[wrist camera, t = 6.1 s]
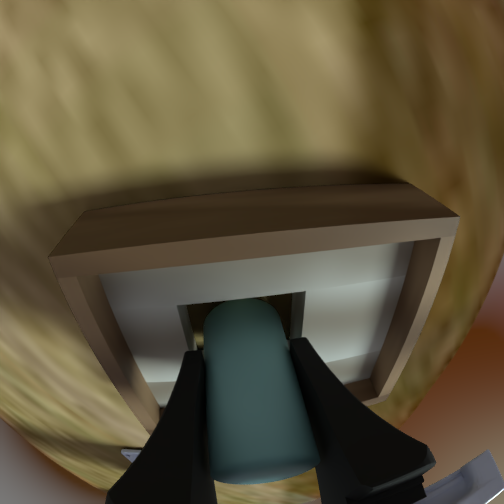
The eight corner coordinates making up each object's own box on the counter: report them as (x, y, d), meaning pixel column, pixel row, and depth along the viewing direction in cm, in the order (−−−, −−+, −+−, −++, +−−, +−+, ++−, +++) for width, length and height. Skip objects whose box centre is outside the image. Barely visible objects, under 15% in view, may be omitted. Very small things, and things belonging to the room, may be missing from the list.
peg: (285, 296, 13) (333, 445, 7) (275, 349, 15) (307, 476, 9) (201, 298, 12) (207, 460, 7) (204, 353, 14) (212, 486, 8)
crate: (366, 359, 18) (385, 400, 15) (153, 388, 17) (150, 435, 14) (410, 183, 12) (460, 216, 9) (84, 211, 11) (47, 257, 8)
